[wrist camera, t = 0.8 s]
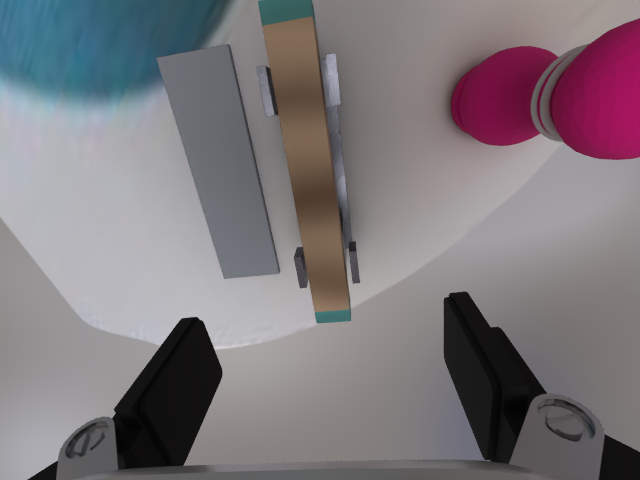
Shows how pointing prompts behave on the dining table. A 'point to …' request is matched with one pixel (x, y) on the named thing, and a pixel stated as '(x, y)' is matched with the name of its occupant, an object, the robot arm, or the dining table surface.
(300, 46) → the rail
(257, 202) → the mat
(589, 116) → the pepper mill
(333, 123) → the bracket
